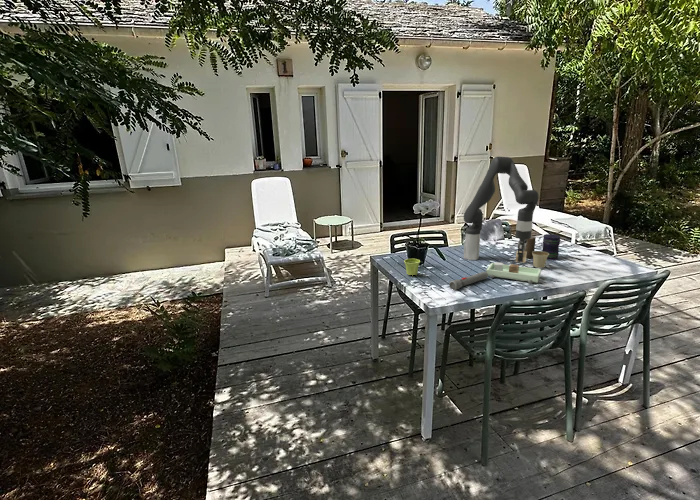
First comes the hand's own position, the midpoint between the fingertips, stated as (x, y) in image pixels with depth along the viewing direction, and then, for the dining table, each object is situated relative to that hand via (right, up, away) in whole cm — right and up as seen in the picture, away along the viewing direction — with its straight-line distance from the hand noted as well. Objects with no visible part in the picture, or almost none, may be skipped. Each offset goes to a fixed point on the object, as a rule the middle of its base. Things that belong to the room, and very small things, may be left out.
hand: (520, 260), depth 203 cm
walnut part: (+4, -8, +17) cm, 19 cm away
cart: (+3, -10, +18) cm, 21 cm away
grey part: (-3, -7, +21) cm, 23 cm away
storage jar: (+41, 0, +50) cm, 64 cm away
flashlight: (-24, -14, +10) cm, 29 cm away
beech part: (0, 0, 0) cm, 0 cm away
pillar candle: (+27, +1, +54) cm, 61 cm away
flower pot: (+26, -5, +34) cm, 43 cm away
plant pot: (-53, -10, +27) cm, 60 cm away
